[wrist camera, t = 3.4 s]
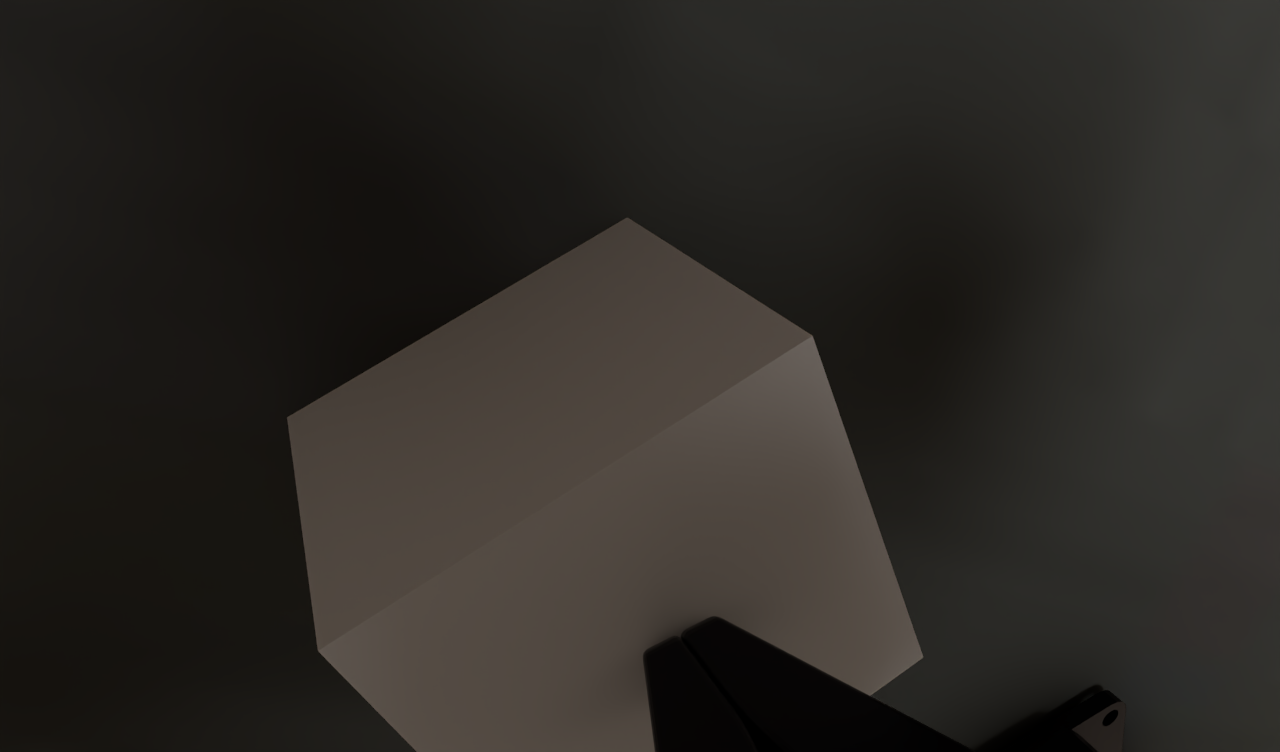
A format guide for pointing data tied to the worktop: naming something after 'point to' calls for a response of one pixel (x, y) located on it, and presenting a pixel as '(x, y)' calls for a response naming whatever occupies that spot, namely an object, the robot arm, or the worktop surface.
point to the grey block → (586, 506)
